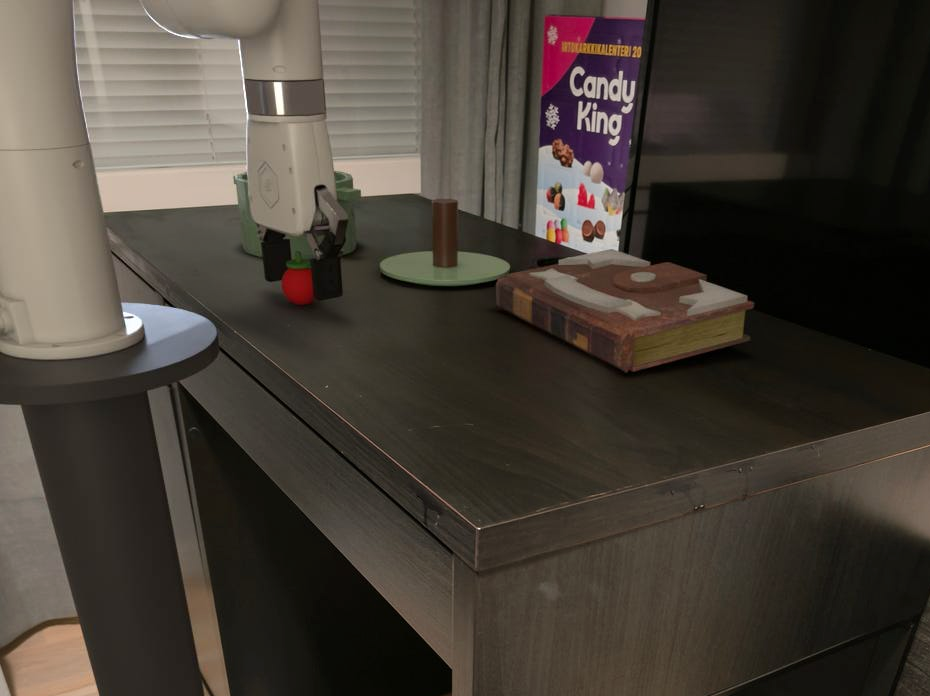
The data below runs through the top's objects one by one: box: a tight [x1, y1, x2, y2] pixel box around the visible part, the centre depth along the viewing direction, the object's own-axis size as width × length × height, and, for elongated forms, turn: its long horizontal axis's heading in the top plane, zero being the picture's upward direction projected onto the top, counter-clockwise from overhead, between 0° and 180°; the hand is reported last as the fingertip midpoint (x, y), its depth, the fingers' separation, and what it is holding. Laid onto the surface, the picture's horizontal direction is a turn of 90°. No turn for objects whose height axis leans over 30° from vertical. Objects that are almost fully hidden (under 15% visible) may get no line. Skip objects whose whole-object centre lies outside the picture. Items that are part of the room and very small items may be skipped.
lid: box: [379, 198, 511, 287], centre depth 108 cm, size 16×16×8 cm
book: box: [495, 248, 755, 374], centre depth 90 cm, size 23×16×5 cm
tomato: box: [281, 251, 316, 306], centre depth 96 cm, size 4×4×5 cm
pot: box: [232, 170, 362, 260], centre depth 119 cm, size 15×20×8 cm
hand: (303, 288), depth 97 cm, fingers open, 9 cm apart
